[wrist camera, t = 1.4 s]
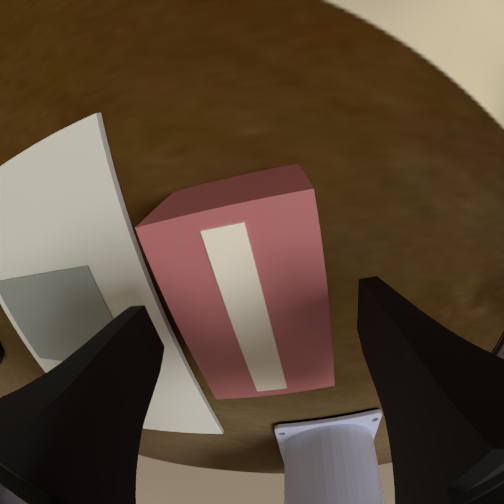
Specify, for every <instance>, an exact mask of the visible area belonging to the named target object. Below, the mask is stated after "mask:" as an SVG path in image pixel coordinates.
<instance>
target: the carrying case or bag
mask: <svg viewBox="0 0 504 504" xmlns="http://www.w3.org/2000/svg"><path fill="white" fill-rule="evenodd" d="M2 352H3V350H2V346H1V344H0V364H1V363H2V360H3V355H2Z"/></svg>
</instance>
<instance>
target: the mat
mask: <svg viewBox="0 0 504 504" xmlns="http://www.w3.org/2000/svg"><path fill="white" fill-rule="evenodd" d="M0 304H1V306H2V308H3V309H4V311H5V313H6V315H7V316H8V318H9V320H10V321H11V323H12V325H13V326H14V328H15V329H16V331H17V333H18V334H19V336H20V337H21V339H22V340H23V342H24V343H25V345H26V346H27V348H28V349H29V351H30V352H31V354H32V355H33V356H34V358H35V359H36V361H37V362H38V363H39V365H40V366H41V367H42V369H43V370H44V371H45V372H46V373H47V372H48V371H50V370H51V369H53V368H54V367H56V366H57V365H59V364H60V363H61V362H63V361H64V360H65V359H66V358H68V357H69V356H70V355H71V354H73V353H74V352H75V351H76V350H77V349H79V348H80V347H81V346H82V345H84V344H85V343H86V342H87V341H88V340H90V339H91V338H92V337H93V336H94V335H95V334H97V333H98V332H99V331H100V330H101V329H102V328H104V327H105V326H106V325H107V324H108V323H109V322H111V321H112V320H113V319H114V318H115V317H117V316H118V315H119V314H120V313H122V312H123V311H124V310H126V309H127V308H129V307H130V306H141V305H145V307H146V309H147V312H148V314H149V316H150V318H151V320H152V322H153V324H154V326H155V328H156V330H157V333H158V335H159V337H160V339H161V341H162V343H163V345H164V347H165V348H164V354H163V360H162V365H161V370H160V374H159V377H158V380H157V383H156V386H155V390H154V393H153V396H152V399H151V402H150V405H149V408H148V411H147V414H146V417H145V421H144V424H143V428H144V429H152V430H161V431H172V432H185V433H205V434H223V428H222V426H221V424H220V423H219V421H218V419H217V417H216V416H215V414H214V412H213V410H212V408H211V407H210V405H209V403H208V401H207V399H206V397H205V396H204V394H203V392H202V390H201V388H200V386H199V384H198V382H197V380H196V378H195V376H194V374H193V372H192V370H191V368H190V366H189V364H188V362H187V360H186V358H185V356H184V354H183V352H182V350H181V348H180V345H179V343H178V341H177V339H176V337H175V335H174V332H173V330H172V328H171V326H170V323H169V321H168V319H167V317H166V314H165V312H164V310H163V307H162V305H161V302H160V300H159V298H158V295H157V293H156V290H155V288H154V285H153V283H152V280H151V278H150V275H149V272H148V270H147V267H146V265H145V262H144V259H143V256H142V254H141V251H140V248H139V245H138V243H137V240H136V237H135V234H134V231H133V228H132V225H131V222H130V219H129V216H128V213H127V210H126V206H125V203H124V200H123V197H122V193H121V190H120V186H119V183H118V179H117V176H116V172H115V169H114V165H113V161H112V157H111V153H110V149H109V145H108V141H107V137H106V133H105V128H104V124H103V119H102V115H101V113H95V114H93V115H91V116H89V117H86V118H84V119H82V120H80V121H78V122H76V123H74V124H72V125H70V126H68V127H66V128H64V129H62V130H60V131H58V132H56V133H54V134H52V135H51V136H49V137H47V138H45V139H43V140H42V141H40V142H38V143H36V144H35V145H33V146H31V147H30V148H28V149H26V150H25V151H23V152H21V153H20V154H18V155H17V156H15V157H14V158H12V159H11V160H9V161H8V162H6V163H5V164H3V165H2V166H0Z"/></svg>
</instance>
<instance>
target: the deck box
mask: <svg viewBox="0 0 504 504" xmlns="http://www.w3.org/2000/svg"><path fill="white" fill-rule="evenodd" d="M135 229H136V232H137V234H138V237H139V240H140V242H141V245H142V247H143V250H144V252H145V255H146V257H147V259H148V262H149V264H150V267H151V269H152V271H153V274H154V276H155V278H156V281H157V283H158V285H159V288H160V290H161V292H162V294H163V296H164V299H165V301H166V303H167V305H168V307H169V309H170V312H171V314H172V316H173V318H174V320H175V322H176V324H177V326H178V328H179V330H180V332H181V334H182V336H183V338H184V340H185V342H186V344H187V346H188V348H189V350H190V352H191V354H192V356H193V358H194V360H195V362H196V363H197V365H198V367H199V369H200V371H201V373H202V375H203V376H204V378H205V380H206V382H207V384H208V385H209V387H210V389H211V391H212V392H213V394H214V396H215V398H216V399H231V398H246V397H258V396H268V395H277V394H285V393H293V392H300V391H307V390H313V389H319V388H325V387H331V386H335V381H334V362H333V346H332V333H331V320H330V309H329V299H328V289H327V280H326V271H325V263H324V255H323V247H322V240H321V233H320V226H319V219H318V212H317V206H316V200H315V194H314V188H313V187H312V185H311V183H310V182H309V180H308V178H307V177H306V175H305V174H304V172H303V170H302V169H301V167H300V165H299V164H293V165H288V166H283V167H278V168H273V169H268V170H263V171H258V172H253V173H248V174H244V175H239V176H235V177H230V178H226V179H222V180H218V181H213V182H209V183H205V184H201V185H197V186H193V187H189V188H186V189H182V190H178V191H174V192H173V193H171V194H170V195H169V196H168V197H167V198H166V199H165V200H164V201H163V202H162V203H161V204H159V205H158V206H157V207H156V208H155V209H154V210H153V211H152V212H151V213H150V214H149V215H148V216H147V217H146V218H145V219H144V220H143V221H142V222H141V223H139V224H138V225H137V226H136V227H135Z"/></svg>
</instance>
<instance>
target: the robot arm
mask: <svg viewBox="0 0 504 504" xmlns="http://www.w3.org/2000/svg"><path fill="white" fill-rule="evenodd" d="M357 329H358V334H359V338H360V342H361V346H362V350H363V354H364V357H365V360H366V363H367V365H368V368H369V371H370V374H371V377H372V379H373V382H374V385H375V388H376V391H377V394H378V397H379V400H380V403H381V406H382V409H383V412H384V416H385V420H386V426H387V431H388V437H389V442H390V449H391V456H392V464H393V474H394V486H395V504H504V359H503V358H500V357H498V356H496V355H494V354H492V353H490V352H488V351H485V350H483V349H481V348H480V347H478V346H476V345H474V344H472V343H470V342H468V341H467V340H465V339H463V338H462V337H460V336H458V335H456V334H455V333H453V332H452V331H450V330H448V329H447V328H445V327H444V326H442V325H441V324H439V323H438V322H436V321H435V320H434V319H432V318H431V317H429V316H428V315H426V314H425V313H424V312H422V311H421V310H420V309H418V308H417V307H416V306H414V305H413V304H412V303H410V302H409V301H408V300H407V299H405V298H404V297H403V296H401V295H400V294H399V293H398V292H396V291H395V290H394V289H393V288H391V287H390V286H389V285H388V284H386V283H385V282H384V281H382V280H381V279H380V278H378V277H377V276H375V277H369V278H363V279H359V293H358V319H357ZM164 348H165V347H164V345H163V343H162V341H161V339H160V337H159V335H158V333H157V330H156V328H155V326H154V324H153V322H152V320H151V318H150V316H149V314H148V312H147V309H146V307H145V305H141V306H130V307H129V308H127V309H126V310H124V311H123V312H122V313H120V314H119V315H118V316H117V317H115V318H114V319H113V320H112V321H111V322H109V323H108V324H107V325H106V326H105V327H104V328H102V329H101V330H100V331H99V332H98V333H97V334H95V335H94V336H93V337H92V338H91V339H90V340H88V341H87V342H86V343H85V344H84V345H82V346H81V347H80V348H79V349H77V350H76V351H75V352H74V353H73V354H71V355H70V356H69V357H68V358H66V359H65V360H64V361H63V362H61V363H60V364H59V365H57V366H56V367H54V368H53V369H51V370H50V371H48V372H47V373H46V374H44V375H42V376H41V377H39V378H37V379H36V380H34V381H32V382H31V383H29V384H27V385H25V386H24V387H22V388H20V389H18V390H16V391H14V392H12V393H10V394H8V395H5V396H3V397H1V398H0V504H136V498H135V491H136V469H137V460H138V451H139V445H140V439H141V433H142V428H143V424H144V421H145V417H146V414H147V411H148V408H149V405H150V402H151V399H152V396H153V393H154V390H155V386H156V383H157V380H158V377H159V374H160V370H161V365H162V360H163V354H164ZM381 417H382V411H381V410H379V409H377V410H372V411H367V412H362V413H357V414H352V415H347V416H341V417H335V418H328V419H322V420H314V421H306V422H297V423H287V424H278V425H276V426H275V427H274V432H275V435H276V438H277V442H278V445H279V448H280V452H281V455H282V458H283V462H284V465H285V503H284V504H384V497H383V491H382V485H381V479H380V474H379V468H378V463H377V457H376V452H375V447H374V442H373V440H374V437H375V434H376V432H377V429H378V426H379V423H380V420H381Z"/></svg>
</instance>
